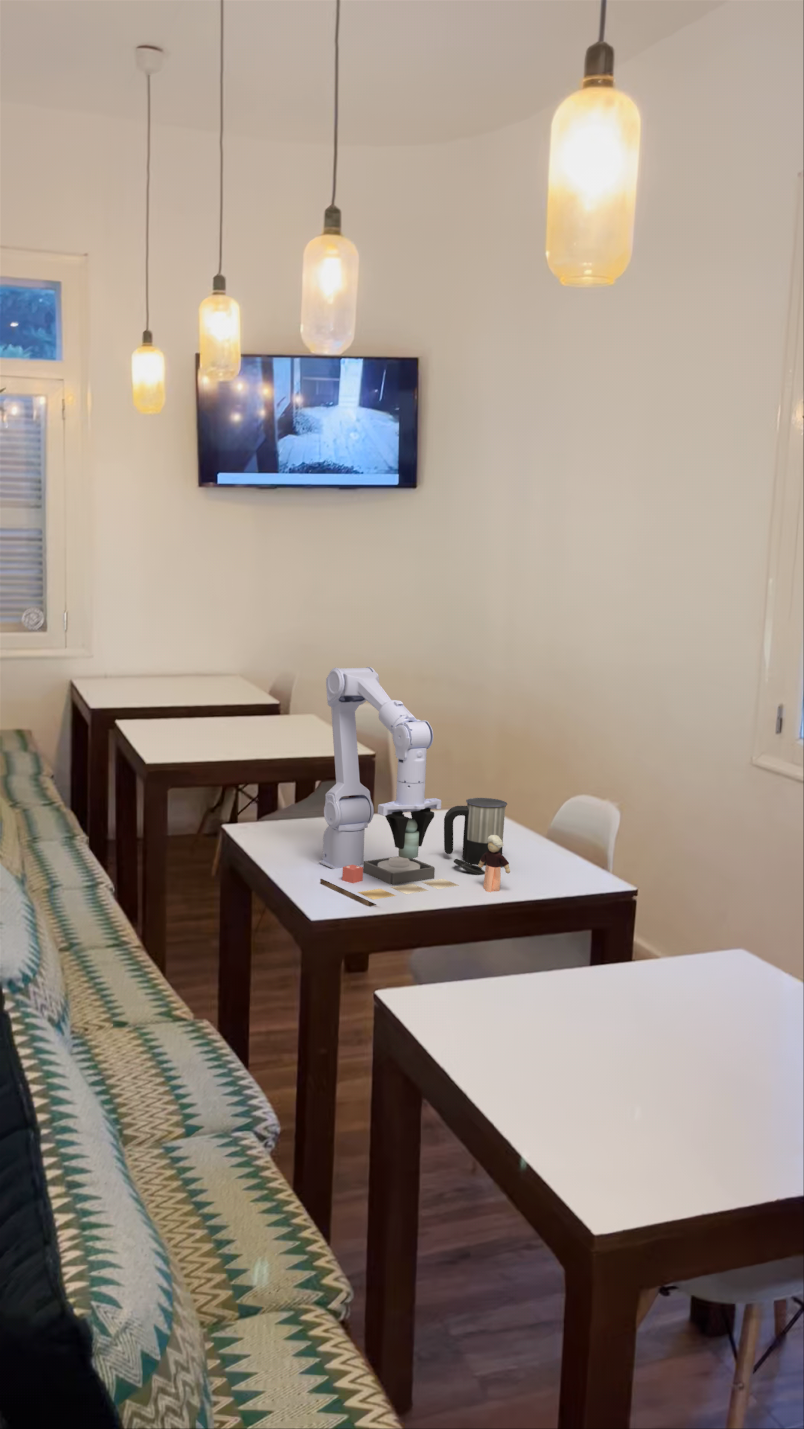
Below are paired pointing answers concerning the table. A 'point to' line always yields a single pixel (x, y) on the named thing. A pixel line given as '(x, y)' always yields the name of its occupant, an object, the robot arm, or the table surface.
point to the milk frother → (475, 830)
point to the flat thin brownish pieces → (383, 894)
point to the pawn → (410, 841)
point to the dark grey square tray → (398, 877)
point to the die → (352, 874)
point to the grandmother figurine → (493, 864)
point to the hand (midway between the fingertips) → (408, 846)
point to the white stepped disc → (398, 864)
